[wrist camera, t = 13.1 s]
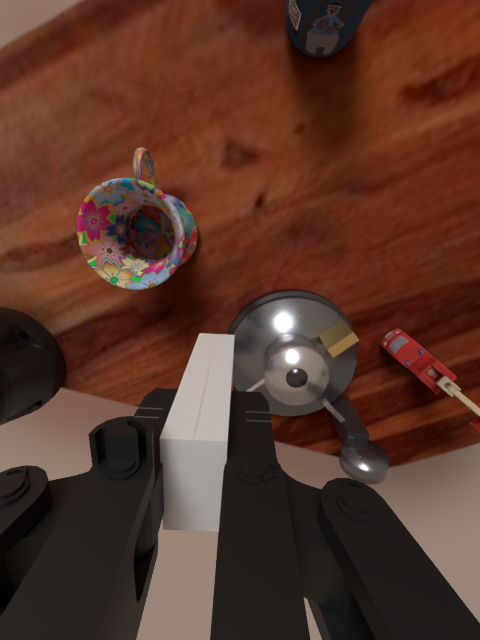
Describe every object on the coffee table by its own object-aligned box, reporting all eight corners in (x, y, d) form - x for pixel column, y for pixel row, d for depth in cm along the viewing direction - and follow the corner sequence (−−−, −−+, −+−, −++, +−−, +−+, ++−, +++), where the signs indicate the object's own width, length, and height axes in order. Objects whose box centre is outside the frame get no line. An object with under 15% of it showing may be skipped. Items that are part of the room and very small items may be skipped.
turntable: (202, 347, 39) (195, 366, 34) (304, 268, 36) (314, 276, 30) (278, 429, 43) (282, 458, 37) (377, 365, 39) (397, 387, 34)
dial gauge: (309, 410, 43) (332, 483, 31) (313, 377, 41) (339, 441, 29) (353, 412, 43) (394, 486, 31) (359, 379, 41) (404, 444, 29)
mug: (199, 276, 38) (180, 296, 27) (124, 266, 37) (78, 283, 27) (207, 169, 34) (190, 148, 24) (124, 158, 34) (71, 132, 24)
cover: (251, 354, 38) (252, 372, 33) (299, 322, 36) (306, 336, 32) (284, 394, 39) (288, 416, 35) (330, 365, 38) (341, 384, 33)
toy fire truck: (394, 323, 39) (439, 355, 30) (464, 384, 41) (526, 431, 32) (374, 342, 40) (412, 378, 30) (444, 400, 42) (499, 450, 33)
